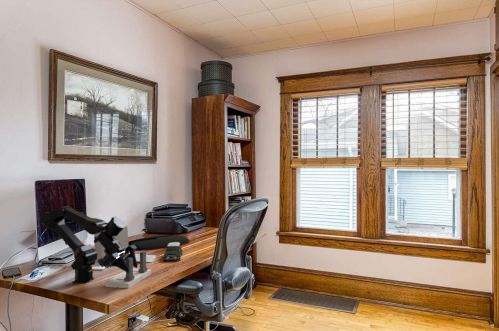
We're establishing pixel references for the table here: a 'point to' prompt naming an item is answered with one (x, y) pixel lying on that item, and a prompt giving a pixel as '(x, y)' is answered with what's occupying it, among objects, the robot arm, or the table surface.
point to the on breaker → (143, 262)
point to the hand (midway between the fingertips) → (132, 269)
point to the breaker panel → (121, 283)
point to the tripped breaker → (130, 265)
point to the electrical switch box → (121, 236)
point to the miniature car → (173, 251)
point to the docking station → (157, 242)
